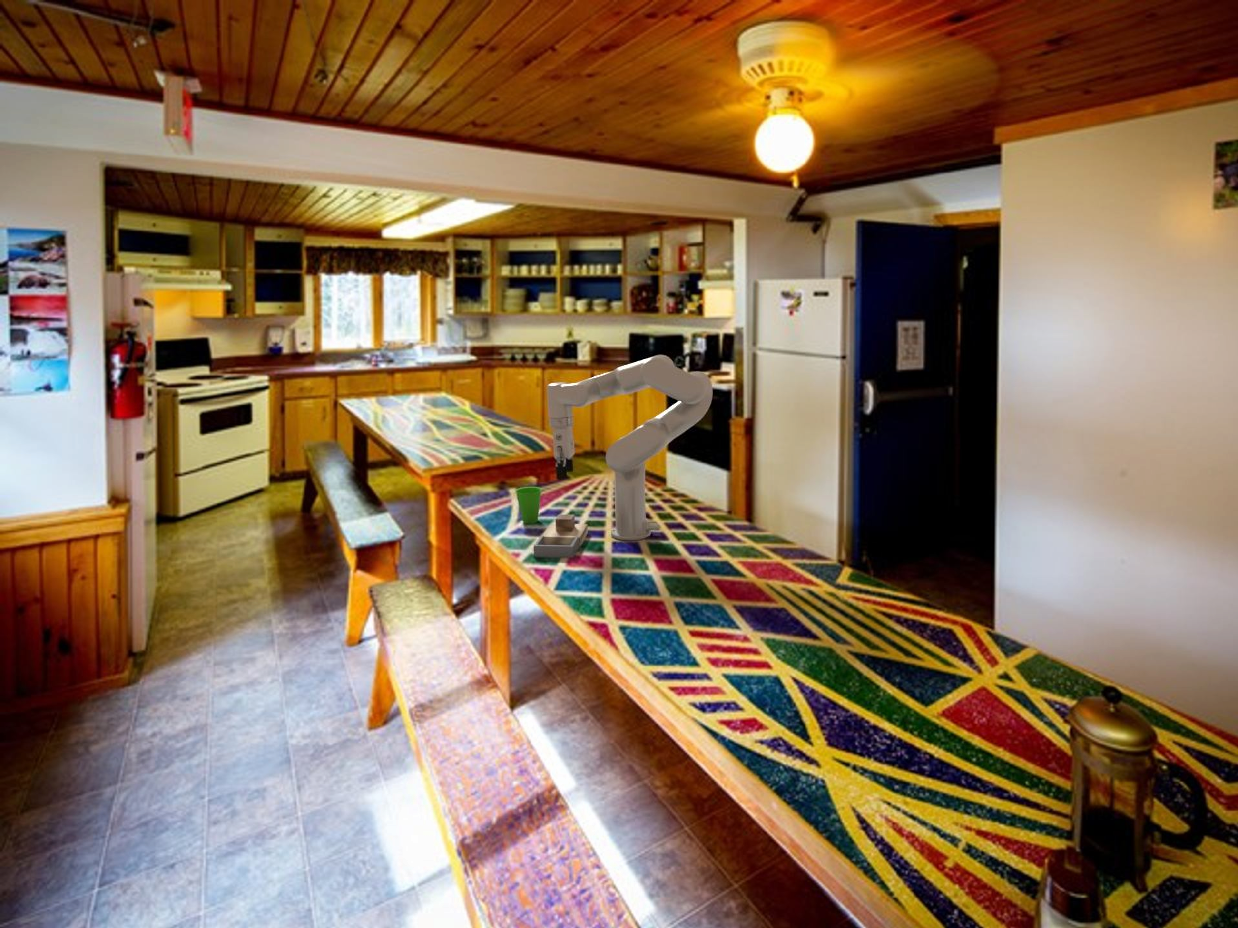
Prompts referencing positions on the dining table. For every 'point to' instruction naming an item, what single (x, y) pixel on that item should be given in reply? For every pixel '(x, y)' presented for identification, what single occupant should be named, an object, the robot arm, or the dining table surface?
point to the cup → (529, 503)
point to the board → (565, 535)
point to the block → (565, 523)
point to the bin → (555, 549)
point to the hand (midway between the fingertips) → (565, 475)
